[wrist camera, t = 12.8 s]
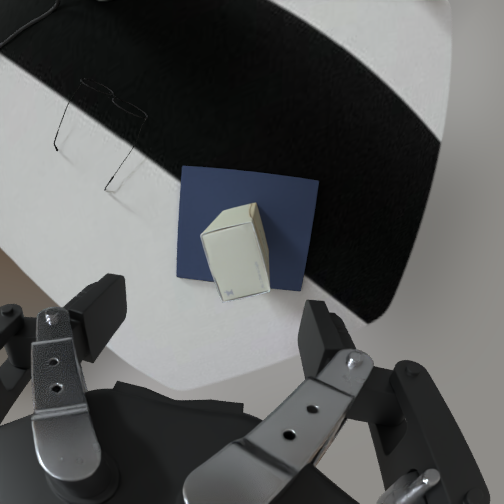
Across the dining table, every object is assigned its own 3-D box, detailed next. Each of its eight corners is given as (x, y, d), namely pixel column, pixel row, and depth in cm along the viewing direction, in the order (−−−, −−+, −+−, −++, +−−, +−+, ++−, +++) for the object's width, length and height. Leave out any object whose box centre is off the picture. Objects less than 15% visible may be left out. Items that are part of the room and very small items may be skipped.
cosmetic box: (269, 250, 35) (274, 294, 23) (233, 259, 35) (221, 306, 24) (255, 199, 33) (254, 219, 22) (219, 209, 34) (198, 234, 22)
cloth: (177, 275, 37) (176, 277, 36) (183, 165, 33) (182, 165, 32) (300, 290, 37) (300, 291, 37) (318, 180, 33) (319, 180, 32)
